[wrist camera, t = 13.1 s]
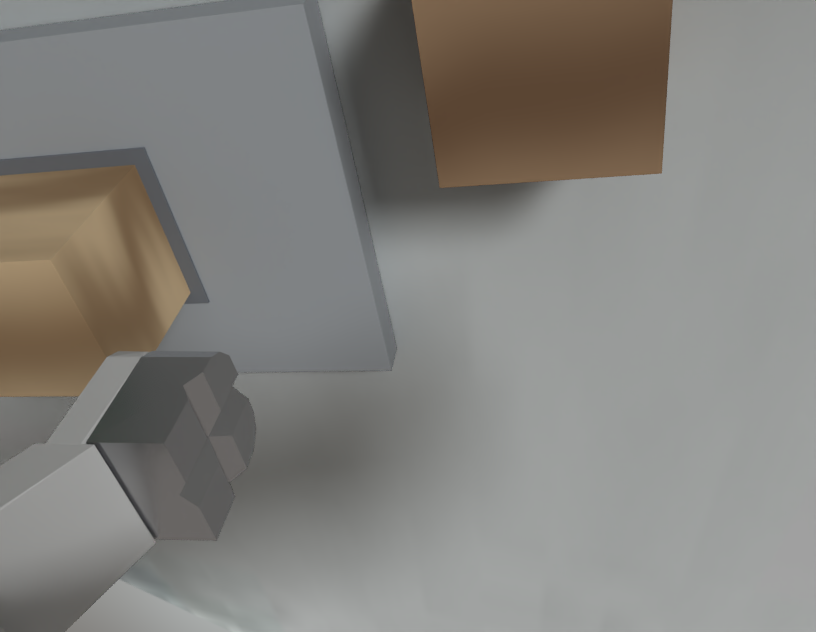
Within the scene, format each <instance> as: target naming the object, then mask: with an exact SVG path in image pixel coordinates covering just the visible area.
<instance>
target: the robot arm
mask: <svg viewBox="0 0 816 632" xmlns="http://www.w3.org/2000/svg"><path fill="white" fill-rule="evenodd" d="M237 375H238V373H237V371H236V368H235V366H234V364H233V362H232V360H231V358H230V356H229V355H227V354H225V353H222V352H211V351H151V352H140V351H118V352H116V353H114V354H112V355H110V356H108V357H106V359H105V360H104V362H103V363H102V365H101V366H100V367H99V369H98V370H97V372H96V373H95V374H94V376H93V377H92V379H91V380H90V381H89V383H88V384H87V386H86V387H85V389H84V390H83V391H82V393H81V394H80V396H79V397H78V398H77V400H76V401H75V403H74V404H73V405H72V407H71V408H70V410H69V411H68V413H67V414H66V415H65V417H64V418H63V420H62V421H61V422H60V424H59V425H58V427H57V428H56V429H55V431H54V432H53V434H52V435H51V436H50V438H49V439H48V441H47V442H46V443H37V444H33V445H32V446H30V447H28V448H27V449H25V450H24V451H22V452H21V453H19V454H18V455H16V456H14V457H13V458H11V459H10V460H8V461H7V462H5V463H4V464H2V465H0V632H65V631H66V630H67V629H68V628H69V627H70V626H71V625H72V624H73V623H74V622H75V621H76V620H77V619H78V618H79V617H80V616H82V615H83V613H85V612H86V611H87V610H88V609H89V608H90V607H91V606H92V605H93V604H94V603H95V602H96V601H97V600H98V599H99V598H100V597H101V596H102V595H103V594H104V593H105V592H106V591H107V590H108V589H109V588H110V587H111V586H112V585H113V584H114V583H115V582H116V581H117V580H118V579H119V578H120V577H122V576H123V575H124V574H125V573H126V572H127V571H128V570H129V569H130V568H131V567H132V566H133V565H134V564H135V563H136V562H137V561H138V560H139V559H140V558H141V557H142V556H143V555H144V554H145V553H146V552H147V551H148V550H149V549H150V548H151V547H152V546H153V545H154V544H155V543H156V541H155V540H154V539H167V540H217V539H218V536H219V534H220V532H221V529H222V527H223V525H224V522H225V520H226V517H227V515H228V513H229V510H230V508H231V505H232V503H233V501H234V498H235V495H234V492H233V489H232V487H231V484H230V482H231V481H232V480H233V479H235V478H236V477H237V476H238V475H239V474H241V473H242V472H243V471H244V470H246V469H247V467H248V464H249V461H250V459H251V456H252V454H253V451H254V444H255V435H256V424H255V417H254V412H253V409H252V407H251V404H250V402H249V399H248V398H247V397H245V396H244V395H243V394H242V393H240V392H239V391H238V390H236V389H235V388H234V387H233V384H234V382H235V380H236V377H237Z"/></svg>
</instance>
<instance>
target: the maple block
mask: <svg viewBox="0 0 816 632" xmlns="http://www.w3.org/2000/svg"><path fill="white" fill-rule="evenodd" d="M190 293H191V292H190V290H189V288H188V285H187V283H186V281H185V278H184V276H183V274H182V272H181V269H180V267H179V265H178V263H177V260H176V258H175V256H174V253H173V251H172V249H171V247H170V244H169V242H168V240H167V237H166V235H165V233H164V231H163V228H162V226H161V224H160V221H159V219H158V217H157V215H156V212H155V210H154V208H153V205H152V203H151V201H150V199H149V196H148V194H147V192H146V189H145V187H144V185H143V183H142V180H141V178H140V176H139V173H138V171H137V169H136V167H135V165H125V166H113V167H101V168H88V169H76V170H64V171H51V172H39V173H27V174H14V175H2V176H0V397H37V396H80V394H81V393H82V391H83V390H84V389H85V387H86V386H87V384H88V383H89V381H90V380H91V379H92V377H93V376H94V374H95V373H96V372H97V370H98V369H99V367H100V366H101V365H102V363H103V362H104V360H105V359H106V357H108V356H110V355H112V354H114V353H116V352H118V351H140V352H151V351H156V349H157V348H158V346H159V344H160V343H161V341H162V339H163V338H164V336H165V334H166V333H167V331H168V329H169V328H170V326H171V324H172V323H173V321H174V320H175V318H176V316H177V315H178V313H179V311H180V310H181V308H182V306H183V305H184V303H185V301H186V300H187V298H188V296H189V295H190Z"/></svg>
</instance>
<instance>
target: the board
mask: <svg viewBox="0 0 816 632" xmlns="http://www.w3.org/2000/svg"><path fill="white" fill-rule="evenodd" d="M125 165H135V167H136V169H137V171H138V173H139V176H140V178H141V180H142V183H143V185H144V187H145V189H146V192H147V194H148V196H149V199H150V201H151V203H152V205H153V208H154V210H155V212H156V215H157V217H158V219H159V221H160V224H161V226H162V228H163V231H164V233H165V235H166V237H167V240H168V242H169V244H170V247H171V249H172V251H173V253H174V256H175V258H176V260H177V263H178V265H179V267H180V269H181V272H182V274H183V276H184V278H185V281H186V283H187V285H188V288H189V290H190V292H191V293H190V295H189V296H188V298H187V300H186V301H185V303H184V305H183V306H182V308H181V310H180V311H179V313H178V315H177V316H176V318H175V320H174V321H173V323H172V324H171V326H170V328H169V329H168V331H167V333H166V334H165V336H164V338H163V339H162V341H161V343H160V344H159V346H158V348H157V349H156V351H211V352H222V353H225V354H227V355H229V356H230V358H231V360H232V362H233V364H234V366H235V368H236V371H237V372H318V371H392V367H393V363H394V359H395V354H396V350H397V347H396V342H395V338H394V334H393V329H392V325H391V321H390V316H389V312H388V307H387V303H386V299H385V294H384V290H383V286H382V281H381V277H380V272H379V268H378V264H377V259H376V255H375V251H374V246H373V242H372V238H371V233H370V229H369V224H368V220H367V216H366V211H365V207H364V203H363V198H362V194H361V190H360V185H359V181H358V176H357V172H356V168H355V163H354V159H353V155H352V150H351V146H350V141H349V137H348V133H347V128H346V124H345V120H344V115H343V111H342V107H341V102H340V98H339V93H338V89H337V85H336V80H335V76H334V72H333V67H332V63H331V59H330V54H329V50H328V45H327V41H326V37H325V32H324V28H323V24H322V19H321V15H320V10H319V6H318V2H317V0H230V1H222V2H215V3H207V4H199V5H192V6H184V7H176V8H169V9H161V10H154V11H146V12H138V13H131V14H123V15H115V16H108V17H100V18H93V19H85V20H77V21H70V22H62V23H54V24H47V25H39V26H32V27H24V28H16V29H9V30H1V31H0V176H2V175H14V174H27V173H39V172H51V171H64V170H76V169H88V168H101V167H113V166H125Z"/></svg>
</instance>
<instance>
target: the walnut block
mask: <svg viewBox="0 0 816 632" xmlns="http://www.w3.org/2000/svg"><path fill="white" fill-rule="evenodd" d="M411 1H412V8H413V14H414V21H415V27H416V34H417V41H418V47H419V54H420V61H421V67H422V74H423V81H424V87H425V94H426V100H427V107H428V114H429V120H430V127H431V134H432V140H433V147H434V153H435V160H436V167H437V173H438V180H439V187H440V188H447V187H463V186H478V185H493V184H508V183H523V182H538V181H553V180H569V179H584V178H599V177H614V176H629V175H644V174H659V173H662V160H663V144H664V129H665V113H666V97H667V81H668V65H669V50H670V34H671V18H672V2H673V0H411Z"/></svg>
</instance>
